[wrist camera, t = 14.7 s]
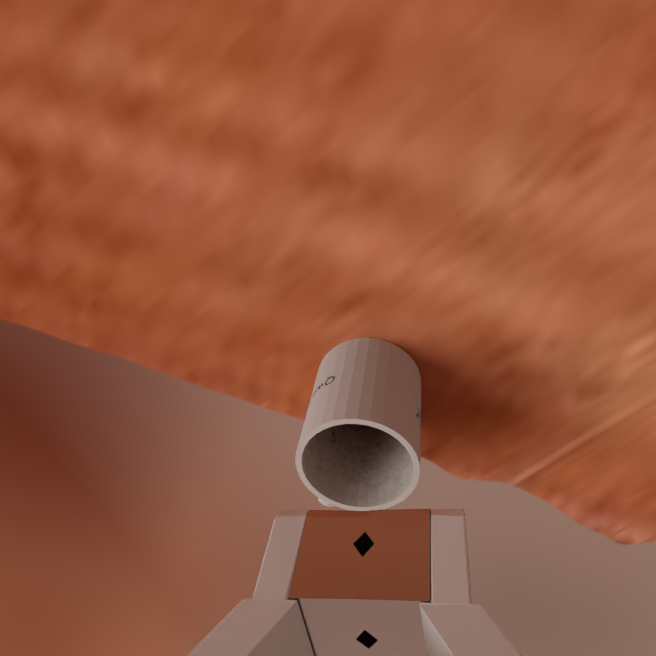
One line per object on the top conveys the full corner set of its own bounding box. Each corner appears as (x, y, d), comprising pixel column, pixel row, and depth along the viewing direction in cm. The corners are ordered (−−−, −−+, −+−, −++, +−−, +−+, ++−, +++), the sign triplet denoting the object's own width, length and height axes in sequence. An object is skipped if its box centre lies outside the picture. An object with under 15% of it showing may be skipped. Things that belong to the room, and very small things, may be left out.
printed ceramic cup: (354, 318, 46) (338, 397, 38) (442, 374, 48) (446, 462, 39) (277, 414, 52) (249, 500, 44) (358, 461, 54) (345, 552, 45)
